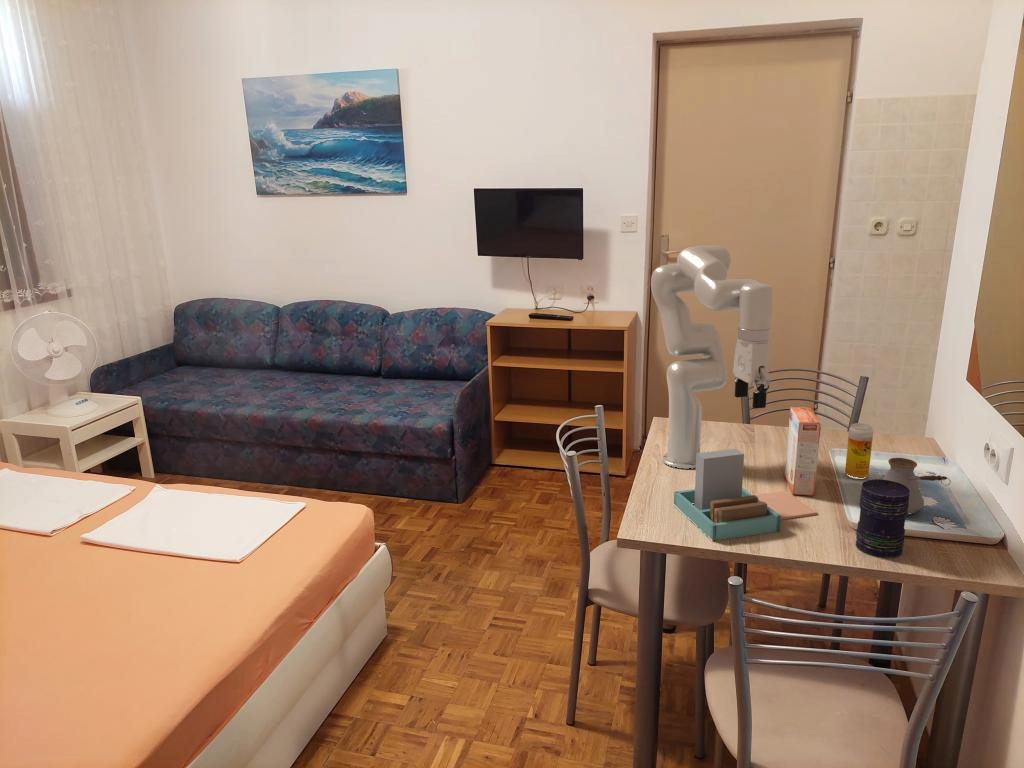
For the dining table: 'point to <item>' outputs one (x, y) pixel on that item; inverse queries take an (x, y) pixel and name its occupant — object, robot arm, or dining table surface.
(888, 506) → the dark-blue ribbed cylinder
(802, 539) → the dining table surface
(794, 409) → the cracker box
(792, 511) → the mat
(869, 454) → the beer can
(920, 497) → the coffee pot
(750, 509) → the offcut slab
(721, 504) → the offcut slab
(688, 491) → the rack
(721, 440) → the dining table surface
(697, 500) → the grey block
